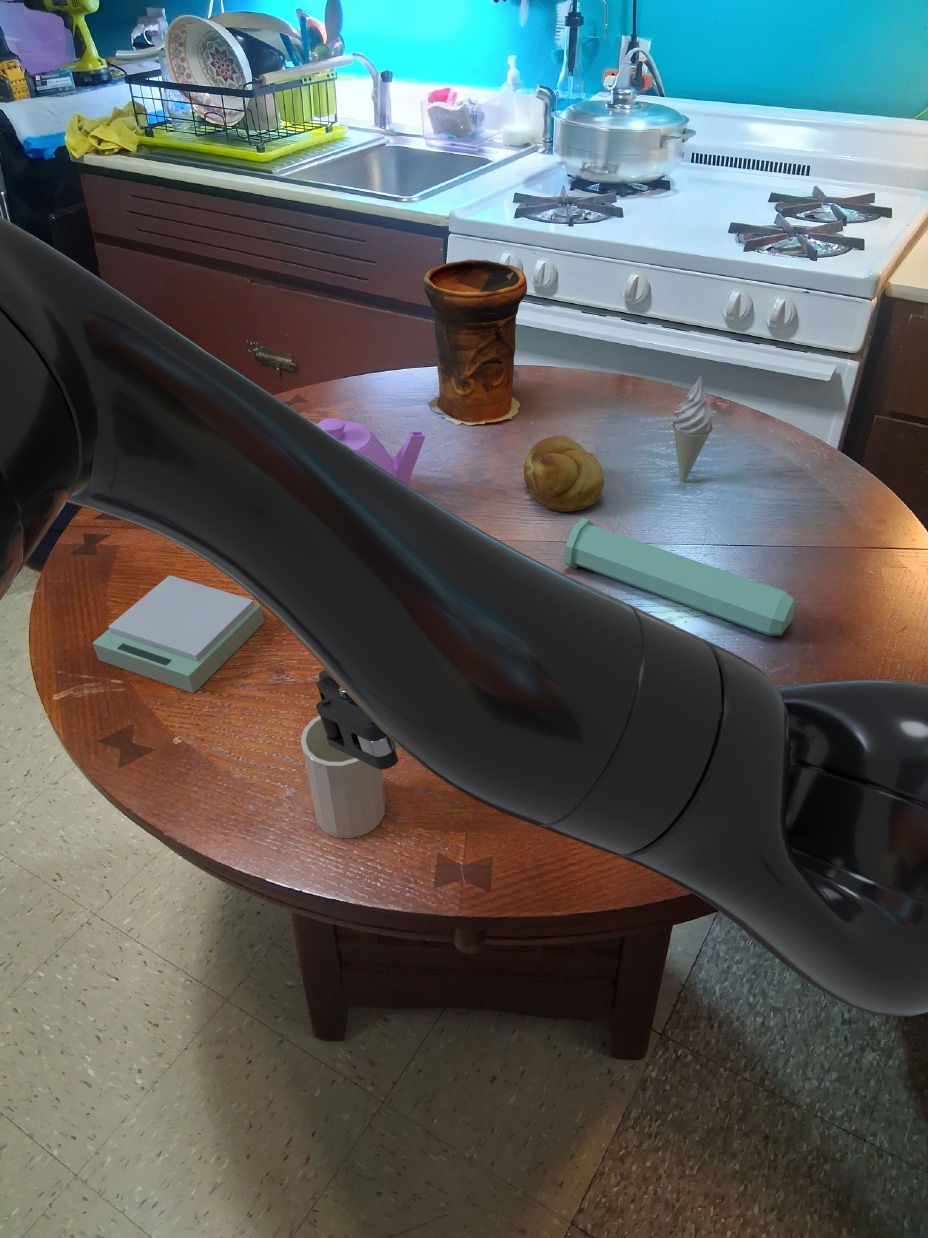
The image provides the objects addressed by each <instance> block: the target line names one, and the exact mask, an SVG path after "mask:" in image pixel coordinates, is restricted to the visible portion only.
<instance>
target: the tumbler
mask: <svg viewBox="0 0 928 1238" xmlns="http://www.w3.org/2000/svg"><path fill="white" fill-rule="evenodd" d="M300 745H301V751H302V756H303V762H304V767H305V773H306V778H307V784H308V790H309V795H310V800H311V805H312V811H313V815H314V820H315V822H316V824H317V826H318V827H319V828H320V829H321V830H322V831H323V832H325V833H326V834H328V835H329V836H332V837H335V838H339V839H355V838H359V837H362V836H365V835H366V834H369V833H370V832H372V831H373V830H374V829H376V828H377V827H378V826H379V824H381V822H382V821H383V819H384V816H385V813H386V807H387V806H386V802H387V801H386V790H385V781H384V769H377V768H375V767H373V766H371V765H369V764H367V763H365V762H363V761H360V760H358V759H356V758H354V757H352V756H350V755H348V754H346V753H344V752H342V751H339V750H337V749H335V748H333V747H331V746H329V743H328V740H327V735H326V732H325V729H324V726H323V723H322V720H321V717H320V715H319V714H318V716H315V717H314V718H313V719H311V720H310V722H308V724H307V725H306V726H305V727H304V729H303V730H302V735H301V738H300Z"/></svg>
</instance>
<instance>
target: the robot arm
mask: <svg viewBox="0 0 928 1238" xmlns="http://www.w3.org/2000/svg"><path fill="white" fill-rule="evenodd" d="M67 503H68V504H73V505H76V506H80V507H82V508H84V509H88V510H91V511H95V512H98V513H101V514H105V515H108V516H110V517H112V518H116V519H117V520H120V521H121V520H122V521H124V522H126V523H129V524H132V525H134V526H136V527H139V528H142V529H144V530H146V531H148V532H150V533H153V534H155V535H158V536H160V537H162V538H164V539H166V540H167V541H170V542H171V543H173V544H176V545H177V546H179V547H181V548H183V549H185V550H186V551H188V552H190V553H192V554H193V555H194V556H197V558H200V559H201V560H203V561H205V562H206V563H208V564H209V565H211V566H212V567H213V568H215V569H217V570H218V571H220V572H221V573H222V574H224V575H225V576H226V577H228V578H229V579H230V580H232V581H233V582H234V583H235V584H236V585H238V587H240V588H241V589H242V590H243V591H244V592H246V593H247V594H248V595H249V596H251V597H252V599H253V600H255V601H256V602H257V603H258V604H259V605H261V607H263V608H264V609H265V610H267V611H268V612H269V613H270V614H271V615H272V616H273V617H274V618H275V619H276V620H278V621H279V623H280V624H282V626H283V627H284V628H286V630H288V631H289V633H291V635H293V637H294V638H295V639H296V640H297V641H298V642H299V643H300V644H301V645H302V646H303V647H304V648H305V649H306V650H307V651H308V652H309V653H310V654H311V655H312V657H313V658H314V659H315V660H316V661H317V662H318V664H320V666H321V667H322V668H323V669H324V670H322V671H319V673H318V678H319V681H316V682H315V683H316V688H317V690H318V693H319V697H320V699H321V700H320V701H319V702H317V703H316V705H315V708H316V711H317V713H318V716H319V715H320V717H321V720H322V723H323V726H324V729H325V732H326V735H327V740H328V743H329V746H331V747H333V748H335V749H337V750H339V751H342V752H344V753H346V754H348V755H350V756H352V757H354V758H356V759H358V760H360V761H363V762H365V763H367V764H369V765H371V766H373V767H375V768H377V769H383V770H388V769H390V768H393V767H394V766H396V765H397V764H398V763H399V756H398V753H397V751H396V749H397V748H398V747H399V748H400V749H402V750H403V751H404V752H405V753H406V754H408V755H409V756H410V757H411V758H412V759H414V761H416V762H417V763H419V764H420V765H421V767H423V768H424V769H426V770H427V771H429V772H430V773H431V774H433V775H434V776H436V777H437V778H439V779H440V780H441V781H442V782H444V783H445V784H446V785H448V786H450V787H452V788H453V789H454V790H457V791H458V792H460V793H462V794H464V795H465V796H467V797H469V798H470V799H472V800H474V801H476V802H478V803H480V804H482V805H484V806H486V807H489V808H490V809H493V810H495V811H497V812H500V813H501V814H504V815H507V816H509V817H512V818H515V819H517V820H521V821H523V822H525V823H529V824H531V825H534V826H536V827H539V828H541V829H543V830H546V831H548V832H552V833H554V834H557V835H559V836H563V837H565V838H568V839H570V840H572V841H573V840H574V841H576V842H578V843H580V844H584V845H586V846H589V847H591V848H594V849H597V850H600V851H602V852H605V853H607V854H612V855H614V856H617V857H619V858H621V859H623V860H626V861H628V862H631V863H634V864H636V865H638V866H640V867H643V868H645V869H647V870H649V871H652V872H654V873H656V874H658V875H659V876H662V877H664V878H666V879H667V880H669V881H671V882H673V883H674V884H676V885H678V886H679V887H682V888H684V889H686V890H687V891H689V892H690V893H692V894H693V895H695V896H696V897H698V898H700V899H701V900H703V901H704V902H706V903H707V904H709V905H710V906H712V907H713V908H714V909H716V911H718V912H720V913H721V914H722V915H724V917H726V918H727V919H729V920H730V921H732V922H733V923H734V924H735V925H736V926H738V927H739V928H740V929H741V930H743V931H744V933H746V934H747V935H748V936H749V937H751V938H752V939H753V940H754V941H755V942H756V943H758V944H759V945H760V946H762V948H764V950H766V951H767V952H768V953H770V954H771V955H772V956H773V957H775V958H776V959H777V960H778V961H779V962H780V963H782V964H783V965H784V966H786V968H788V969H789V970H791V971H792V972H793V973H795V974H796V975H797V976H798V977H800V978H801V979H803V980H805V981H806V982H807V983H809V984H810V985H811V986H813V987H814V988H816V989H818V990H819V991H821V992H822V993H824V994H826V996H829V997H830V998H833V999H834V1000H837V1001H838V1002H840V1003H842V1004H845V1005H846V1006H849V1007H851V1008H854V1009H856V1010H859V1011H862V1012H866V1013H869V1014H873V1015H877V1016H885V1017H892V1018H894V1017H895V1018H896V1017H897V1018H902V1017H914V1016H917V1015H922V1014H926V1013H928V683H924V682H920V681H919V682H918V681H911V680H901V679H900V680H899V679H889V678H881V679H879V678H876V679H875V678H872V679H871V678H870V679H869V678H867V679H863V678H861V679H860V678H859V679H841V680H837V679H836V680H827V681H826V680H825V681H815V682H803V683H794V684H793V683H792V684H779V685H778V684H776V683H774V681H773V680H772V679H771V678H770V677H769V676H768V674H766V673H765V671H763V670H762V669H760V668H759V667H757V666H756V665H755V664H753V663H752V662H750V661H748V660H747V659H745V658H744V657H742V656H740V655H737V654H736V653H734V652H732V651H730V650H728V649H726V648H724V647H722V646H719V645H717V644H715V643H713V642H711V641H709V640H707V639H705V638H702V637H700V636H698V635H696V634H694V633H692V632H689V631H687V630H685V629H683V628H681V627H679V626H677V625H675V624H672V623H670V622H668V621H665V620H664V619H662V618H659V617H657V616H655V615H652V614H651V613H648V612H646V611H644V610H642V609H640V608H638V607H636V606H634V605H632V604H630V603H627V602H624V601H623V600H621V599H619V598H616V597H615V596H612V595H610V594H607V593H605V592H603V591H602V590H600V589H597V588H594V587H592V586H590V585H587V584H585V583H583V582H581V581H579V580H577V579H574V578H572V577H570V576H568V575H566V574H564V573H562V572H560V571H558V570H556V569H554V568H553V567H550V566H548V565H546V564H544V563H542V562H541V561H539V560H536V559H534V558H533V557H530V556H529V555H526V554H525V553H523V552H521V551H519V550H517V549H515V548H514V547H512V546H510V545H508V544H506V543H505V542H503V541H501V540H500V539H498V538H496V537H495V536H492V535H490V534H489V533H487V532H485V531H483V530H482V529H479V528H478V527H476V526H474V525H473V524H471V523H469V522H467V521H466V520H464V519H462V518H461V517H460V516H457V515H456V514H454V513H453V512H450V511H449V510H447V509H446V508H444V507H443V506H440V505H439V504H437V503H436V502H434V501H433V500H430V499H429V498H428V497H426V496H424V495H423V494H421V493H420V492H418V491H417V490H415V489H414V488H412V487H411V486H409V485H406V484H404V483H403V482H401V481H400V480H398V479H397V478H395V477H394V476H392V475H391V474H389V473H388V472H386V471H385V470H383V469H382V468H380V467H379V466H377V465H376V464H374V463H373V462H371V461H370V460H368V459H367V458H365V457H364V456H362V455H361V454H359V453H358V452H356V451H355V450H353V449H352V448H350V447H349V446H347V445H346V444H344V443H343V442H341V441H340V440H338V439H337V438H335V437H333V436H332V435H330V434H329V433H328V432H326V431H325V430H323V429H322V428H320V427H319V426H317V425H316V423H314V422H313V421H312V420H310V419H309V418H308V417H306V416H305V415H303V414H301V413H300V412H299V411H297V410H295V409H294V408H292V407H291V406H289V405H288V404H287V403H285V402H284V401H282V400H280V399H279V398H277V397H276V396H275V395H273V394H271V392H269V391H267V390H265V389H264V388H263V387H261V386H259V385H258V384H257V383H255V382H253V381H252V380H250V379H249V378H247V377H245V376H244V375H242V374H241V373H239V372H238V371H237V370H235V369H233V368H232V367H230V366H229V365H228V364H226V363H224V362H222V360H219V359H218V358H217V357H215V356H214V355H212V354H210V353H209V352H208V351H206V350H204V349H203V348H202V347H200V346H199V345H198V344H196V343H195V342H193V341H191V340H190V339H189V338H187V337H186V336H184V335H183V334H181V333H180V332H179V331H177V330H176V329H174V328H173V327H171V326H169V324H167V323H166V322H164V321H163V320H161V319H159V318H158V317H157V316H155V315H153V314H152V313H151V312H149V311H148V310H146V309H145V308H143V307H142V306H140V305H139V304H138V303H136V302H135V301H133V300H132V299H130V298H129V297H127V296H126V295H124V294H123V293H121V292H120V291H118V290H117V289H116V288H114V287H113V286H111V285H110V284H109V283H107V282H105V281H104V280H103V279H102V278H100V277H98V276H97V275H95V274H94V273H92V272H91V271H89V270H88V269H86V268H85V267H84V266H81V265H80V264H79V263H77V262H76V261H74V260H72V259H71V258H70V257H68V256H66V255H65V254H64V253H62V252H60V251H58V250H57V249H55V248H54V247H52V246H51V245H49V244H48V243H46V242H44V241H43V240H41V239H39V238H38V237H37V236H35V235H33V234H31V233H30V232H28V231H27V230H25V229H23V228H21V227H20V226H18V225H16V224H15V223H13V222H11V221H10V220H8V219H6V218H4V217H3V216H1V215H0V601H2V599H3V598H4V597H5V595H6V593H8V591H9V589H10V588H11V586H12V584H13V582H14V580H15V578H16V577H17V576H18V575H19V574H20V572H21V571H22V570H23V568H24V567H25V565H26V563H27V562H28V561H29V559H30V558H31V556H32V555H33V553H34V551H35V550H36V549H37V547H38V546H39V545H40V542H41V541H42V540H43V538H44V537H45V535H46V533H48V531H49V529H50V528H51V526H52V525H53V523H54V522H55V520H56V518H57V517H58V516H59V515H60V513H61V511H62V510H63V508H64V507H65V506H66V504H67Z"/></svg>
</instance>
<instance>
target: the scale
mask: <svg viewBox="0 0 928 1238" xmlns="http://www.w3.org/2000/svg"><path fill="white" fill-rule="evenodd" d="M254 600H255V599H251V598H248V597H245V596H241V595H237V594H234V593H231V592H228V591H225V590H222V589H217V588H214V587H211V586H207V585H205V584H201V583H197V582H194V581H191V580H188V579H184V578H181V577H178V576H174V575H170V574H169V575H168V576H167V577H165V578H164V579H162V581H160V583H158V584H157V585H156V586H154V587H153V588H152V589H151V590H150V591H148V593H146V594H145V595H143V597H141V598H140V599H139V600H138V601H136V603H134V604H133V605H132V606H131V607H129V608H128V609H127V610H126V611H125V612H123V613H122V614H121V615H120V616H119V617H118V618H117V619H115V620H114V621H112V622H111V623H110V624H109V625H108V627H107V628H108V629H107V630H106V631H104V632H103V633H102V634H101V635H100V636H99V637H97V638H96V639H95V640H94V641H93V642H92V645H93V648H94V652H95V654H96V657H97V659H98V661H99V662H102V663H106V664H108V665H110V666H113V667H116V668H119V669H122V670H125V671H128V672H131V673H134V674H137V675H139V676H143V677H145V678H148V679H151V680H154V681H156V682H159V683H161V684H165V685H168V686H170V687H174V688H176V689H180V690H182V691H184V692H188V693H191V694H195V693H196V692H198V691H199V689H200V688H201V687H202V686H204V684H205V683H206V682H207V681H208V680H209V679H211V678H212V676H213V675H214V674H215V673H216V672H217V671H218V670H219V669H220V668H221V667H222V666H223V665H224V664H225V663H226V662H227V660H229V659H230V658H231V657H232V656H233V655H234V654H235V653H236V652H237V651H238V650H239V649H240V648H241V646H243V644H244V643H246V642H247V641H248V639H250V638H251V636H253V634H255V632H257V630H259V628H260V627H262V625H263V624H264V623H265V619H264V615H263V614H264V613H263V609H262V605H261V604H260V603H256V602H254Z"/></svg>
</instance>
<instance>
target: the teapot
mask: <svg viewBox="0 0 928 1238" xmlns="http://www.w3.org/2000/svg"><path fill="white" fill-rule="evenodd" d="M315 424H316V425H317V426H319V427H320V428H322V429H323V430H325V431H326V432H328V433H329V434H330V435H332V436H333V437H335V438H337V439H338V440H340V441H341V442H343V443H344V444H346V445H347V446H349V447H350V448H352V449H353V450H355V451H356V452H358V453H359V454H361V455H362V456H364V457H365V458H367V459H368V460H370V461H371V462H373V463H374V464H376V465H377V466H379V467H380V468H382V469H383V470H385V471H386V472H388V473H389V474H391V475H392V476H394V477H395V478H397V479H398V480H400V481H401V482H403V483H404V484H406V485H407V486H409V482H410V479H411V476H412V474H413V472H414V469H415V465H416V463H417V461H418V458H419V455H420V452H421V450H422V447H423V445H424V441H425V439H426V434H425V431H424V430H412V431H411V430H410V431H409V434H408V436H407V437H406V439H405V441H404V442H403V444H402V445H401V447H400V449H399V451H398V452H397V454H396V456H394V457H392V456H391V455H390V454H389V452H388V450H387V449H386V448H385V446H384V445H383V444H382V443H381V442H380V440H379V439H378V438H377V437H376V435H374V433H373V432H371V430H369V429H368V428H367V427H366V426H364V425H362V424H360V423H357V422H354V421H349V420H344V419H342V418H338V417H330V418H329V417H328V418H324V419H322V420H320V421H319V422H317V423H315Z"/></svg>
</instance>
